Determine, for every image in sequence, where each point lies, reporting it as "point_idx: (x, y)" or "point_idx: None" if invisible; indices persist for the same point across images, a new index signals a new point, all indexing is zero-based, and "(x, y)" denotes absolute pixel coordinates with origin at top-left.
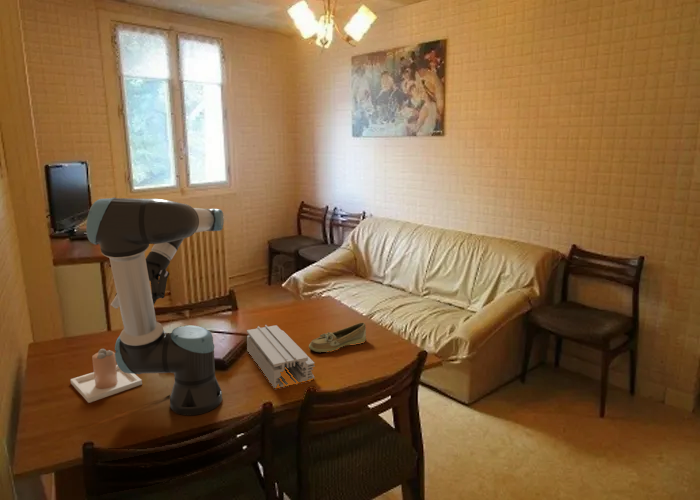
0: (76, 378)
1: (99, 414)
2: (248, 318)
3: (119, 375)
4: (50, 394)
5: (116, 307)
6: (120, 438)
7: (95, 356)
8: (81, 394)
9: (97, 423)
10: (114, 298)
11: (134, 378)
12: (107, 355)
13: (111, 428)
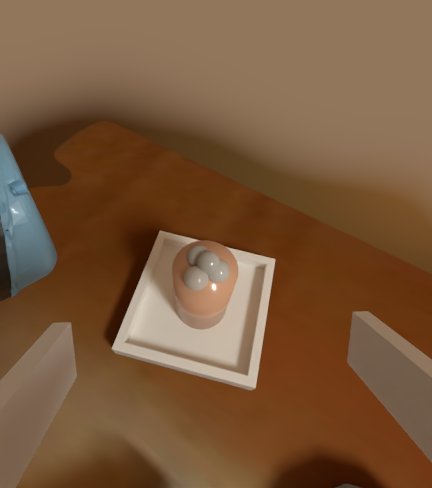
0: (268, 267)
1: (114, 232)
2: None
3: (213, 350)
4: (270, 230)
5: (351, 355)
6: None
7: (218, 251)
8: None
9: (91, 214)
10: (400, 339)
11: (144, 348)
12: (187, 268)
13: (52, 216)
